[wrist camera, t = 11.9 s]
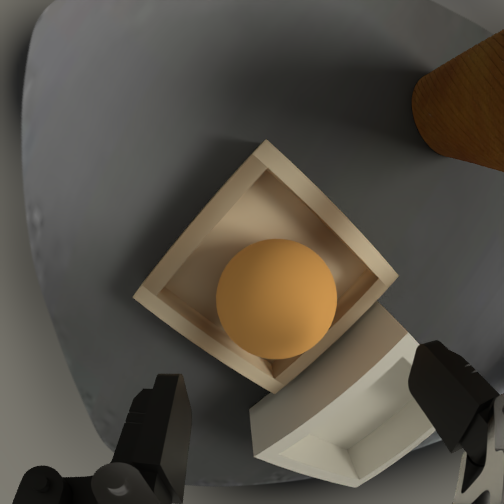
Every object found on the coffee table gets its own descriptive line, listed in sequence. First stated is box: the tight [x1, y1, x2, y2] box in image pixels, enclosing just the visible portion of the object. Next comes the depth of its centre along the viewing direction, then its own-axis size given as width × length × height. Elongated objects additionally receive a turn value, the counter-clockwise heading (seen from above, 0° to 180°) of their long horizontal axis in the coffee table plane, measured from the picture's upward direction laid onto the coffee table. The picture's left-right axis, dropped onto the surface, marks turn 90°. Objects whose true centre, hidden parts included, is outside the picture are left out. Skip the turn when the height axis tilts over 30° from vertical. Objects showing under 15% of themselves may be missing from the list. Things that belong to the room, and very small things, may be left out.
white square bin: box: [249, 300, 436, 487], centre depth 20 cm, size 13×13×5 cm
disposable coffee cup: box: [412, 30, 504, 172], centre depth 10 cm, size 10×10×12 cm
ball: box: [216, 239, 337, 359], centre depth 15 cm, size 6×6×6 cm
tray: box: [133, 139, 398, 394], centre depth 17 cm, size 11×11×2 cm
